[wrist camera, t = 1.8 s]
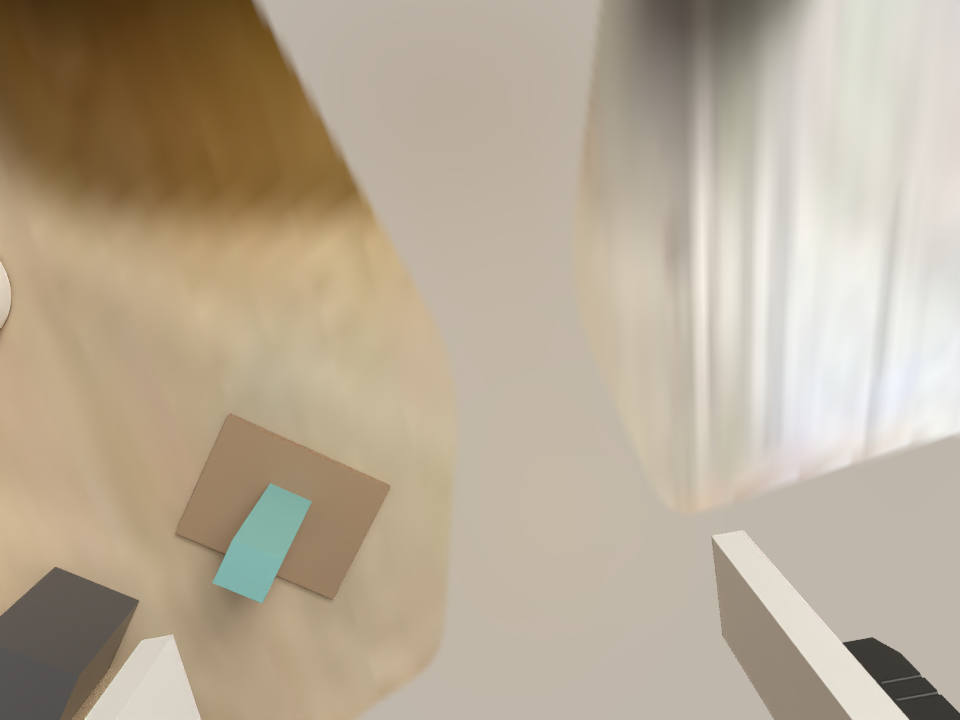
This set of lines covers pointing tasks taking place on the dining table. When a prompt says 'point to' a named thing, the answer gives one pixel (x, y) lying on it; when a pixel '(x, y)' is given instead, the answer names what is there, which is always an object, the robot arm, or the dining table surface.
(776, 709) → the robot arm
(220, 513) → the teal post on base
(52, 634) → the charcoal cuboid
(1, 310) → the cup
